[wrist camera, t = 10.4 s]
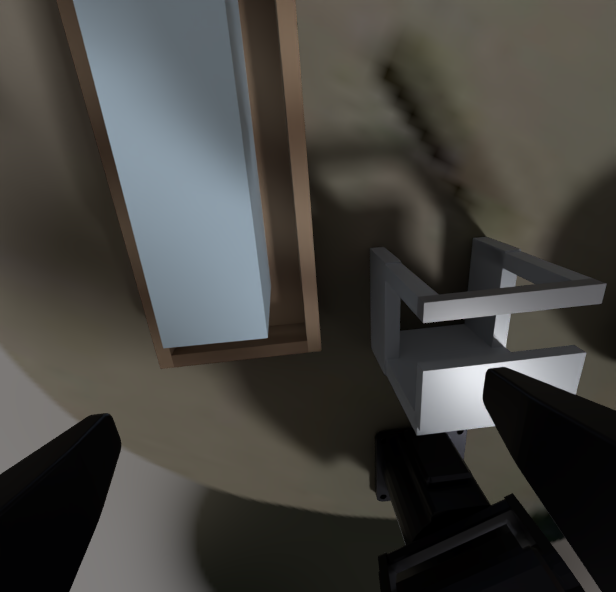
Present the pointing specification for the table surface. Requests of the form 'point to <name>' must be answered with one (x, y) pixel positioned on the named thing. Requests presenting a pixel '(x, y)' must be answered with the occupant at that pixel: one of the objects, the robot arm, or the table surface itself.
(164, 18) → the pale blue rectangular pillar
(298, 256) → the tray
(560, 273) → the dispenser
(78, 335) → the table surface
